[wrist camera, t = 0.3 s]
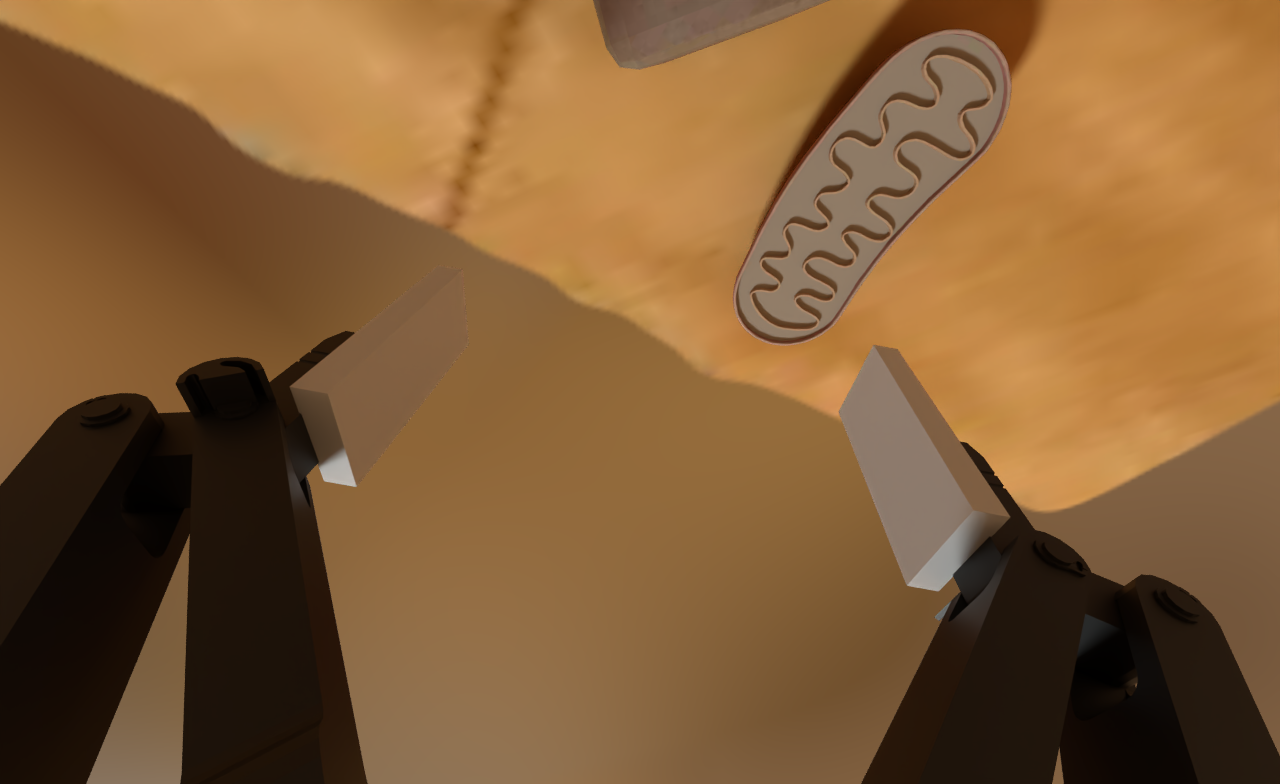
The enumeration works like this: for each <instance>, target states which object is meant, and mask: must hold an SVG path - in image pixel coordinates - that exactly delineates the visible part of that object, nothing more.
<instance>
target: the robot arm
mask: <svg viewBox="0 0 1280 784" xmlns="http://www.w3.org/2000/svg"><path fill="white" fill-rule="evenodd" d="M467 346H468V331H467V319H466V305H465V293H464V280H463V270H462V269H458V268H453V267H447V266H442V265H438V266H437V267H435V268H434V269H433V270H432V271H430V272H429V273H428V274H427V275H426V276H425V277H423V278H422V279H421V280H420V281H418V282H417V283H416V284H415V285H413V286H412V287H411V288H410V289H408V290H407V291H406V292H405V293H404V294H402V295H401V296H400V297H399V298H397V299H396V300H395V301H394V302H393V303H391V304H390V305H389V306H388V307H387V308H385V309H384V310H383V311H382V312H380V313H379V314H378V315H377V316H375V317H374V318H373V319H372V320H371V321H369V322H368V323H367V324H366V325H364V326H363V327H362V328H361V329H360V330H358V331H357V332H356V333H354V332H348V331H345V332H342V333H340V334H337V335H335V336H332V337H330V338H327V339H325V340H324V341H323V342H321V343H320V344H319V345H317V346H316V347H315V348H313V349H312V350H311V353H310V352H309V353H307V354H306V355H305V356H303V357H302V358H301V359H300V361H299V362H295V363H294V364H293V365H291V366H290V367H289V368H288V369H286V370H285V371H284V372H282V373H281V374H280V375H278V376H277V377H276V378H274V379H273V380H272V381H271V382H269V381H268V379H267V376H266V374H265V371H264V369H263V367H262V365H261V364H260V363H259V362H257V361H255V360H252V359H248V358H240V357H231V358H220V359H216V360H212V361H207V362H204V363H201V364H199V365H197V366H195V367H192V368H190V369H188V370H187V371H186V372H184V373H183V374H182V375H180V376H179V378H178V380H177V382H176V386H177V388H178V390H179V391H180V393H181V395H182V397H183V399H184V400H185V402H186V404H187V406H188V408H189V410H190V412H180V413H158V412H157V410H156V409H155V407H154V406H153V404H152V402H151V401H150V400H149V399H148V398H147V397H146V396H142V395H139V394H131V393H129V394H128V393H119V394H113V395H104V396H100V397H96V398H94V399H90V400H87V401H84V402H82V403H80V404H78V405H76V406H74V407H72V408H70V409H68V410H67V411H65V413H63V414H62V415H61V416H60V417H58V418H57V419H56V420H55V421H54V423H53V424H52V425H51V426H50V427H49V429H48V430H47V431H46V432H45V433H44V434H43V436H42V437H41V438H40V439H39V440H38V441H37V443H36V444H35V445H34V446H33V447H32V449H31V450H30V451H29V452H28V453H27V455H26V456H25V457H24V458H23V459H22V460H21V462H20V463H19V464H18V465H17V466H16V468H15V469H14V470H13V471H12V472H11V474H10V475H9V476H8V477H7V478H6V479H5V481H4V482H3V483H2V484H1V486H0V784H86V783H87V780H88V778H89V776H90V773H91V771H92V768H93V766H94V763H95V761H96V759H97V756H98V754H99V751H100V749H101V747H102V744H103V742H104V739H105V737H106V734H107V732H108V729H109V727H110V725H111V722H112V720H113V718H114V715H115V713H116V710H117V708H118V706H119V703H120V701H121V698H122V696H123V693H124V691H125V688H126V686H127V684H128V681H129V679H130V677H131V674H132V672H133V669H134V667H135V664H136V662H137V660H138V657H139V655H140V652H141V650H142V647H143V645H144V643H145V640H146V638H147V635H148V633H149V631H150V628H151V626H152V623H153V621H154V619H155V616H156V613H157V611H158V609H159V606H160V604H161V602H162V599H163V597H164V594H165V592H166V590H167V587H168V585H169V582H170V580H171V577H172V575H173V572H174V570H175V568H176V565H177V563H178V561H179V558H180V556H181V553H182V551H183V548H184V546H185V544H186V541H187V539H188V536H189V534H190V545H189V546H190V547H189V575H188V605H187V634H186V666H185V693H184V724H183V752H182V755H183V756H182V775H181V783H180V784H368V783H367V780H366V775H365V771H364V766H363V761H362V755H361V750H360V745H359V739H358V734H357V729H356V724H355V719H354V713H353V708H352V703H351V698H350V693H349V688H348V683H347V677H346V672H345V666H344V661H343V656H342V651H341V645H340V641H339V635H338V630H337V625H336V619H335V614H334V609H333V604H332V599H331V593H330V588H329V583H328V578H327V572H326V567H325V562H324V557H323V552H322V546H321V542H320V536H319V531H318V526H317V520H316V516H315V510H314V505H313V499H312V494H311V490H310V485H309V482H308V480H307V477H306V476H307V474H308V473H309V472H310V471H311V470H312V469H313V468H314V467H315V466H316V465H317V464H318V466H319V468H320V471H321V474H322V477H323V479H324V481H326V482H332V483H337V484H343V485H348V486H354V487H357V486H358V484H359V483H360V482H361V481H362V479H363V478H364V477H365V476H366V474H367V473H368V472H369V471H370V469H371V468H372V467H373V465H374V464H375V463H376V462H377V460H378V459H379V458H380V457H381V455H382V454H383V453H384V451H385V450H386V449H387V448H388V446H389V445H390V444H391V442H392V441H393V440H394V439H395V437H396V436H397V435H398V434H399V432H400V431H401V430H402V428H403V427H404V426H405V425H406V423H407V422H408V421H409V420H410V418H411V417H412V416H413V414H414V413H415V412H416V410H417V409H418V408H419V407H420V406H421V404H422V403H423V402H424V400H425V399H426V398H427V397H428V395H429V394H430V393H431V392H432V390H433V389H434V388H435V387H436V385H437V384H438V383H439V381H440V380H441V379H442V378H443V376H444V375H445V374H446V373H447V371H448V370H449V369H450V367H451V366H452V365H453V364H454V362H455V361H456V360H457V358H458V357H459V356H460V355H461V353H462V352H463V351H464V349H465V348H466V347H467ZM839 414H840V417H841V419H842V422H843V424H844V427H845V429H846V432H847V434H848V437H849V440H850V441H851V444H852V447H853V450H854V452H855V455H856V457H857V460H858V462H859V465H860V468H861V470H862V473H863V475H864V478H865V480H866V483H867V485H868V488H869V491H870V493H871V496H872V498H873V501H874V503H875V506H876V508H877V511H878V513H879V516H880V518H881V521H882V524H883V526H884V529H885V531H886V534H887V536H888V539H889V541H890V544H891V547H892V549H893V552H894V554H895V557H896V559H897V562H898V564H899V567H900V569H901V572H902V575H903V577H904V580H905V582H906V585H907V586H912V587H918V588H924V589H929V590H935V591H939V590H940V589H941V588H942V587H943V586H944V585H945V584H946V583H947V582H948V581H949V580H950V579H951V578H952V577H954V579H955V581H956V583H957V585H958V587H959V589H960V591H961V592H960V593H959V594H958V595H957V596H956V597H955V598H954V599H953V600H952V601H951V602H949V603H948V604H947V605H946V606H945V607H944V608H943V609H942V610H941V611H940V612H939V613H938V614H937V615H936V616H935V618H936V619H938V620H939V621H940V620H941V619H942V618H943V619H942V621H941V623H940V625H939V627H938V629H937V631H936V633H935V635H934V637H933V640H932V641H931V643H930V646H929V647H928V650H927V651H926V654H925V655H924V658H923V660H922V662H921V664H920V666H919V668H918V670H917V672H916V674H915V676H914V678H913V680H912V682H911V684H910V686H909V688H908V690H907V692H906V694H905V696H904V698H903V700H902V702H901V704H900V706H899V708H898V710H897V712H896V714H895V716H894V719H893V720H892V722H891V724H890V727H889V728H888V730H887V733H886V734H885V737H884V738H883V741H882V743H881V745H880V747H879V749H878V751H877V753H876V755H875V757H874V759H873V761H872V763H871V765H870V767H869V769H868V771H867V773H866V775H865V777H864V779H863V781H862V783H861V784H1052V781H1053V776H1054V771H1055V766H1056V761H1057V756H1058V750H1059V747H1060V755H1061V764H1062V772H1063V779H1064V784H1280V756H1279V753H1278V751H1277V749H1276V747H1275V745H1274V743H1273V740H1272V738H1271V736H1270V734H1269V732H1268V730H1267V727H1266V725H1265V723H1264V721H1263V719H1262V716H1261V714H1260V712H1259V710H1258V708H1257V706H1256V704H1255V701H1254V699H1253V697H1252V695H1251V693H1250V690H1249V688H1248V686H1247V684H1246V682H1245V679H1244V677H1243V675H1242V673H1241V671H1240V668H1239V666H1238V664H1237V662H1236V660H1235V658H1234V655H1233V654H1232V651H1231V649H1230V647H1229V645H1228V643H1227V640H1226V638H1225V636H1224V634H1223V631H1222V629H1221V627H1220V626H1219V624H1218V622H1217V621H1216V619H1215V618H1214V616H1213V615H1212V614H1211V613H1210V612H1209V611H1208V610H1207V609H1206V608H1205V607H1204V606H1203V605H1202V604H1201V602H1200V601H1199V600H1198V599H1197V598H1195V597H1194V596H1193V595H1190V594H1189V592H1187V591H1186V590H1184V589H1182V588H1181V587H1178V586H1176V585H1174V584H1172V583H1171V582H1169V581H1167V580H1164V579H1161V578H1158V577H1156V576H1153V575H1140V576H1138V577H1137V578H1135V579H1134V580H1132V581H1131V582H1130V583H1128V584H1127V585H1125V586H1123V585H1120V584H1118V583H1115V582H1113V581H1111V580H1108V579H1106V578H1103V577H1101V576H1099V575H1096V574H1094V573H1091V570H1090V568H1089V567H1088V565H1087V564H1086V562H1085V561H1084V559H1083V558H1082V557H1081V556H1079V554H1078V553H1077V552H1075V550H1074V549H1072V548H1071V547H1070V546H1068V545H1067V544H1065V543H1064V542H1062V541H1061V540H1060V539H1058V538H1056V537H1054V536H1051V535H1049V534H1047V533H1045V532H1041V531H1037V530H1035V529H1034V528H1033V526H1032V525H1031V524H1030V522H1029V521H1028V520H1027V518H1026V517H1025V515H1024V514H1023V512H1022V511H1021V509H1020V508H1019V507H1018V505H1017V504H1016V502H1015V501H1014V500H1013V498H1012V497H1011V495H1010V494H1009V493H1008V491H1007V490H1006V489H1005V488H1003V486H1004V485H1003V484H1002V483H1001V481H1000V480H999V478H998V477H997V476H994V471H993V470H992V468H991V467H990V466H989V464H988V463H987V461H986V460H985V459H984V457H983V456H981V455H980V454H979V453H978V452H977V451H976V450H974V449H973V448H972V447H971V446H970V445H969V444H968V443H965V442H960V441H959V440H958V438H957V437H956V435H955V434H954V432H953V431H952V429H951V428H950V427H949V425H948V424H947V422H946V421H945V419H944V418H943V416H942V415H941V413H940V412H939V410H938V409H937V407H936V406H935V404H934V403H933V401H932V400H931V398H930V397H929V395H928V394H927V392H926V391H925V389H924V388H923V386H922V385H921V383H920V382H919V381H918V379H917V378H916V376H915V375H914V373H913V372H912V370H911V369H910V367H909V366H908V364H907V363H906V361H905V360H904V358H903V357H902V355H901V354H900V352H899V351H898V349H894V348H888V347H883V346H877V345H873V347H872V349H871V351H870V353H869V355H868V356H867V358H866V360H865V362H864V364H863V366H862V368H861V370H860V372H859V374H858V376H857V378H856V380H855V381H854V383H853V385H852V387H851V389H850V391H849V393H848V395H847V397H846V399H845V401H844V403H843V404H842V406H841V408H840V410H839ZM1135 684H1137V687H1135Z"/></svg>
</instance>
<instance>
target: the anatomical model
mask: <svg viewBox="0 0 1280 784" xmlns="http://www.w3.org/2000/svg"><path fill="white" fill-rule="evenodd" d="M1010 97H1011V75H1010V70H1009V65H1008V63H1007V61H1006V58H1005V56H1004V54H1003V53H1002V51H1001V50H1000V49H999V47H998V46H997V45H996V43H995V42H993V41H992V40H990V39H989V38H987V37H986V36H984V35H983V34H980V33H977V32H975V31H972V30H966V29H945V30H941V31H937V32H932V33H930V34H927V35H924V36H921V37H919V38H917V39H915V40H913V41H911V42H909V43H907V44H905V45H904V46H902V47H901V48H899V49H898V50H896V51H895V52H893V53H892V54H891V55H890V56H889V57H888V58H887V59H886V60H885V61H884V62H882V63H881V64H880V65H879V66H878V68H877V69H876V70H875V71H874V72H873V73H872V75H871V76H870V77H869V78H868V79H867V80H866V81H865V83H864V84H863V85H862V86H861V87H860V88H859V90H858V91H857V92H856V93H855V94H854V95H853V97H852V98H851V99H850V100H849V101H848V102H847V104H846V105H845V106H844V107H843V108H842V109H841V111H840V112H839V113H838V114H837V115H836V116H835V118H834V119H833V120H832V121H831V122H830V123H829V125H828V126H827V127H826V128H825V130H824V131H823V132H822V133H821V135H820V136H819V137H818V138H817V140H816V141H815V142H814V143H813V145H812V146H811V147H810V148H809V150H808V151H807V152H806V154H805V155H804V156H803V158H802V159H801V161H800V162H799V163H798V165H797V166H796V168H795V169H794V171H793V172H792V174H791V175H790V176H789V178H788V180H787V181H786V183H785V184H784V186H783V188H782V189H781V191H780V192H779V194H778V196H777V197H776V199H775V201H774V203H773V204H772V206H771V208H770V210H769V212H768V214H767V216H766V217H765V219H764V221H763V223H762V225H761V227H760V229H759V231H758V233H757V235H756V237H755V239H754V241H753V243H752V245H751V247H750V250H749V252H748V254H747V256H746V258H745V260H744V262H743V264H742V266H741V268H740V271H739V273H738V275H737V278H736V282H735V286H734V292H733V304H734V310H735V313H736V316H737V318H738V320H739V322H740V323H741V325H742V326H743V328H744V329H745V330H746V331H747V332H748V333H750V334H751V335H752V336H753V337H755V338H757V339H759V340H761V341H763V342H766V343H769V344H774V345H795V344H800V343H805V342H807V341H810V340H812V339H815V338H817V337H818V336H820V335H822V334H823V333H825V332H826V331H828V330H829V329H830V328H831V327H832V326H834V325H835V323H836V322H837V321H838V319H839V318H840V316H841V315H842V313H843V312H844V310H845V309H846V307H847V306H848V304H849V303H850V301H851V300H852V298H853V297H854V295H855V294H856V292H857V291H858V289H859V288H860V286H861V285H862V283H863V282H864V281H865V279H866V278H867V277H868V275H869V274H870V273H871V271H872V270H873V268H874V267H875V266H876V264H877V263H878V262H879V261H880V259H881V258H882V257H883V256H884V255H885V253H886V252H887V251H888V250H889V248H890V247H891V246H892V245H893V244H894V242H895V241H896V240H897V239H898V238H899V237H900V236H901V235H902V234H903V233H904V231H905V230H906V229H907V228H908V227H909V226H910V225H911V224H912V223H913V222H914V221H915V220H916V219H917V218H918V217H919V216H920V215H921V214H922V213H923V212H924V210H925V209H926V208H927V207H928V206H929V205H930V204H931V203H932V202H933V201H934V200H935V199H937V198H938V197H939V196H940V195H941V194H942V193H943V192H944V191H945V190H946V189H947V188H948V187H950V186H951V185H952V184H953V183H954V182H955V181H956V180H957V179H958V178H959V177H960V176H961V175H962V174H964V173H965V172H966V171H967V170H968V169H969V168H970V167H971V166H972V165H973V164H974V163H975V162H977V161H978V160H979V159H980V158H981V157H982V156H983V155H984V154H985V153H986V152H987V150H988V149H989V147H990V146H991V144H992V143H993V141H994V139H995V138H996V136H997V135H998V133H999V131H1000V129H1001V127H1002V125H1003V122H1004V120H1005V118H1006V115H1007V111H1008V108H1009V104H1010Z"/></svg>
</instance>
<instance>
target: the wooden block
mask: <svg viewBox="0 0 1280 784" xmlns="http://www.w3.org/2000/svg"><path fill="white" fill-rule="evenodd" d="M593 1H594V5H595V9H596V12H597V16H598V19H599V23H600V27H601V30H602V34H603V37H604V41H605V45H606V48H607V50H608V51H609V52H610V54H611V55H612V57H613V58H614V60H615V61H616V63H617V64H618V65H619V67H623V68H631V69H643V68H647V67H651V66H655V65H658V64H662V63H666V62H669V61H671V60H674V59H677V58H679V57H682V56H685V55H687V54H690V53H693V52H696V51H698V50H701V49H704V48H706V47H709V46H712V45H715V44H717V43H720V42H723V41H725V40H728V39H731V38H734V37H736V36H739V35H742V34H744V33H747V32H750V31H753V30H755V29H758V28H761V27H763V26H766V25H769V24H771V23H774V22H777V21H780V20H782V19H785V18H787V17H790V16H792V15H795V14H797V13H800V12H802V11H805V10H807V9H809V8H812V7H814V6H817V5H819V4H822V3H824V2H827V1H829V0H593Z"/></svg>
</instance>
